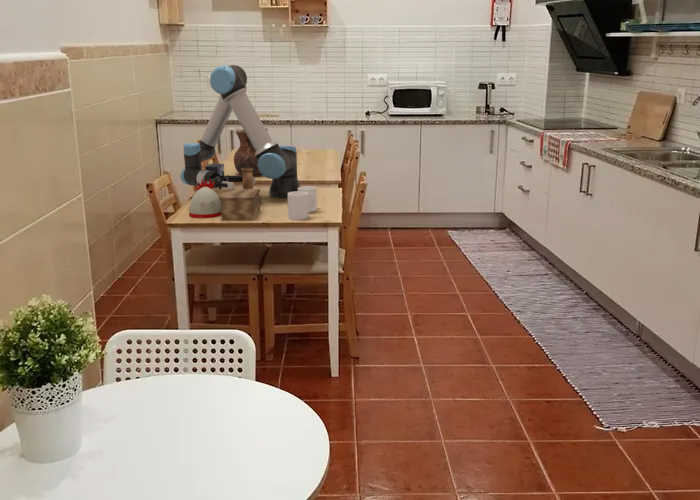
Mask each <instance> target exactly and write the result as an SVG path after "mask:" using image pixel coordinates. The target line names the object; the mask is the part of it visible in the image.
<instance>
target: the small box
mask: <svg viewBox="0 0 700 500" xmlns="http://www.w3.org/2000/svg"><path fill="white" fill-rule="evenodd" d="M204 170H207V171H215V172H218V173H219V175H220V176H221V175H223V176H226V174H225V164H224V163H211V164H208V165H206V166H204Z"/></svg>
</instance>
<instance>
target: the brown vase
mask: <svg viewBox="0 0 700 500" xmlns="http://www.w3.org/2000/svg"><path fill="white" fill-rule="evenodd" d="M265 129H266V130H267V132H268V128H266V127H265ZM235 134H236V136H237V137H238V140H239V147H238V149H237V150H236V151H235V153H234V156H233V165H234V168H235V170H236V172H238V174H240V176H242V171H241V169H242V168H253V171H252V175H253V177H260V176H259V175H262V174H261V173H260V171H259V169H258V160H257V159H256V157H255V153H256V150H255V148H254V146H253V145H252V143H251V141H250V139H249V138H248V136H247V134H246V132H245V130H244V129H243V128H242V129H236V130H235ZM262 176H263V175H262Z"/></svg>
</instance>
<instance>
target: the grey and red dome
mask: <svg viewBox="0 0 700 500" xmlns="http://www.w3.org/2000/svg"><path fill="white" fill-rule="evenodd" d="M214 183H215V182H213V184H211V179H210V181H209V184H208V183H207V180H206V179H205V184H204V182H203V179H202V182H201V185H200V183H199V182H198V184H199V186H194V187H195V189H196V191H195V192H194V193H193V195H192V198H191V200H190V204H189V210H188V215H189V217H190V218H193V219H212V218H218V217H222V214H221V201H220V197H221V196H220V195H219V194H217V192H216V191H215V190H213V189H214V188H213V186H214Z"/></svg>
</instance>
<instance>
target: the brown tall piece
mask: <svg viewBox="0 0 700 500" xmlns="http://www.w3.org/2000/svg"><path fill="white" fill-rule="evenodd" d="M241 171H242V175H241V176H242V178H243V182H242V189H254V184H253V178H254V176H253V175H252V171H253V168H242V169H241Z"/></svg>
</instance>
